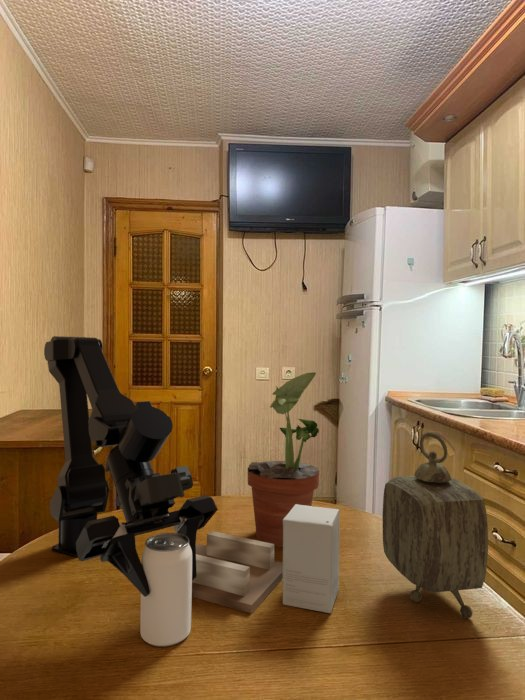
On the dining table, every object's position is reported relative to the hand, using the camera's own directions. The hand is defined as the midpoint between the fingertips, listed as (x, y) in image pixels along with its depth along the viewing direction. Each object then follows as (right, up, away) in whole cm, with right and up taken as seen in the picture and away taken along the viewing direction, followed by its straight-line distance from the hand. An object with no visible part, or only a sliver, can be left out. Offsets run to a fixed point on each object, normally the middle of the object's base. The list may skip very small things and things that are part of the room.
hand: (171, 586), depth 61 cm
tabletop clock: (+36, -7, +11) cm, 39 cm away
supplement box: (+19, -7, +11) cm, 23 cm away
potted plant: (+16, -7, +34) cm, 38 cm away
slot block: (+5, -7, +16) cm, 18 cm away
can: (-1, -7, +1) cm, 7 cm away
